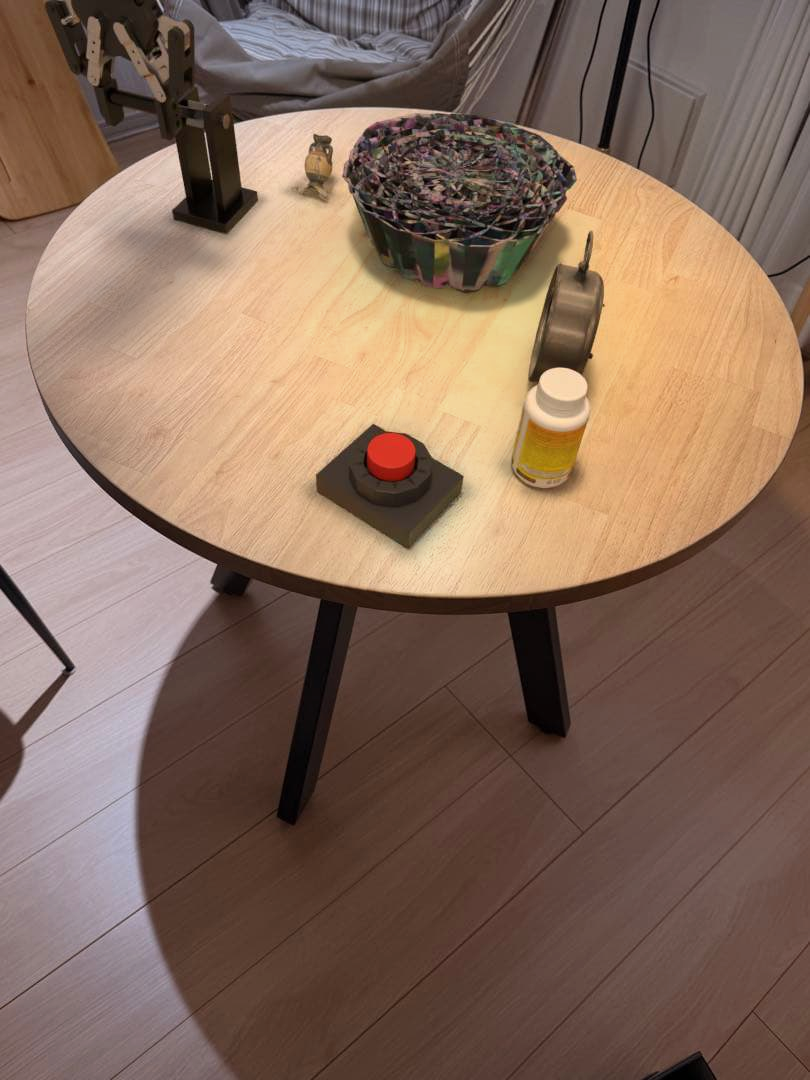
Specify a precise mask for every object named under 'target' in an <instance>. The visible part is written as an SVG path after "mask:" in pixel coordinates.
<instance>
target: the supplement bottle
mask: <svg viewBox="0 0 810 1080" xmlns="http://www.w3.org/2000/svg"><path fill="white" fill-rule="evenodd" d="M588 389H589V387H588V382H587V379H586V378H585V377H584V376H583V374H582V375H580V374H579V373H578V372H576V371H574V370H571V369H568V368H553V369H549V370H547V371H546V372H544V373H543V374H542V376H541V377H540V380H539V383H537V384H536V385H534V386H533V387H531V388H530V389H529V390H528V392H527V394H526V395H525V398H524V401H523V405H522V410H521V415H520V419H519V423H518V426H517V427H518V428H517V431H516V436H515V439H514V446H513V450H512V454H511V467H512V469H513V471H514V473H515V475H516V476H517V477H518V478H519V479H520V480H521V481H523V482H524V483H525V484H527V485H530V486H532V487H535V488H539V489H541V488H542V489H547V488H548V489H549V488H555V487H558V486H560V485H562V484H563V483H565V482H566V481H567V480H568V479H569V477H570V475H571V474H572V471H573V469H574V466H575V462H576V459H577V455H578V453H579V450H580V446H581V444H582V440H583V437H584V434H585V431H586V428H587V424H588V422H589V419H590V415H591V403H590V401H589V399H588V397H587V393H588Z"/></svg>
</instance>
